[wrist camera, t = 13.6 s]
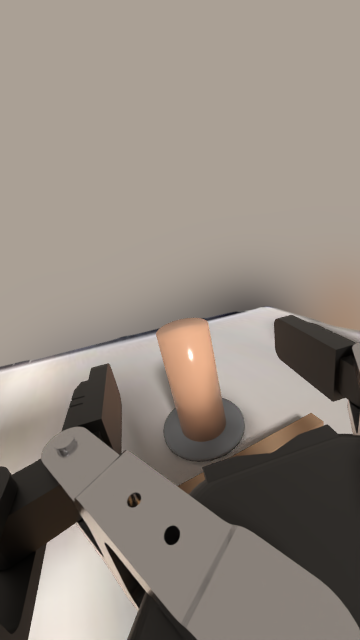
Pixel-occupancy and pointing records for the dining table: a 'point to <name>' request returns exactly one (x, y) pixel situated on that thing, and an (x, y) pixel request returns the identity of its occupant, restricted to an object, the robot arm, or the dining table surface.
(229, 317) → the dining table surface
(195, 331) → the peach cylinder
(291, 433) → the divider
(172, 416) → the coaster
